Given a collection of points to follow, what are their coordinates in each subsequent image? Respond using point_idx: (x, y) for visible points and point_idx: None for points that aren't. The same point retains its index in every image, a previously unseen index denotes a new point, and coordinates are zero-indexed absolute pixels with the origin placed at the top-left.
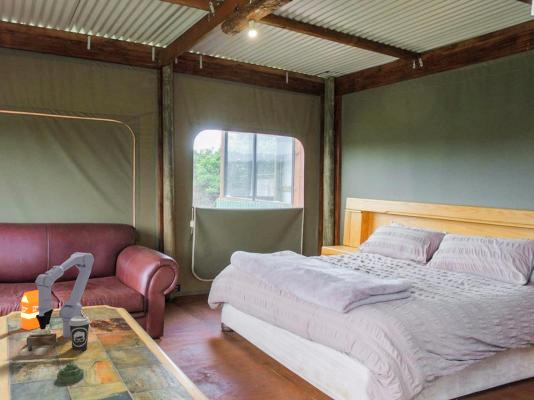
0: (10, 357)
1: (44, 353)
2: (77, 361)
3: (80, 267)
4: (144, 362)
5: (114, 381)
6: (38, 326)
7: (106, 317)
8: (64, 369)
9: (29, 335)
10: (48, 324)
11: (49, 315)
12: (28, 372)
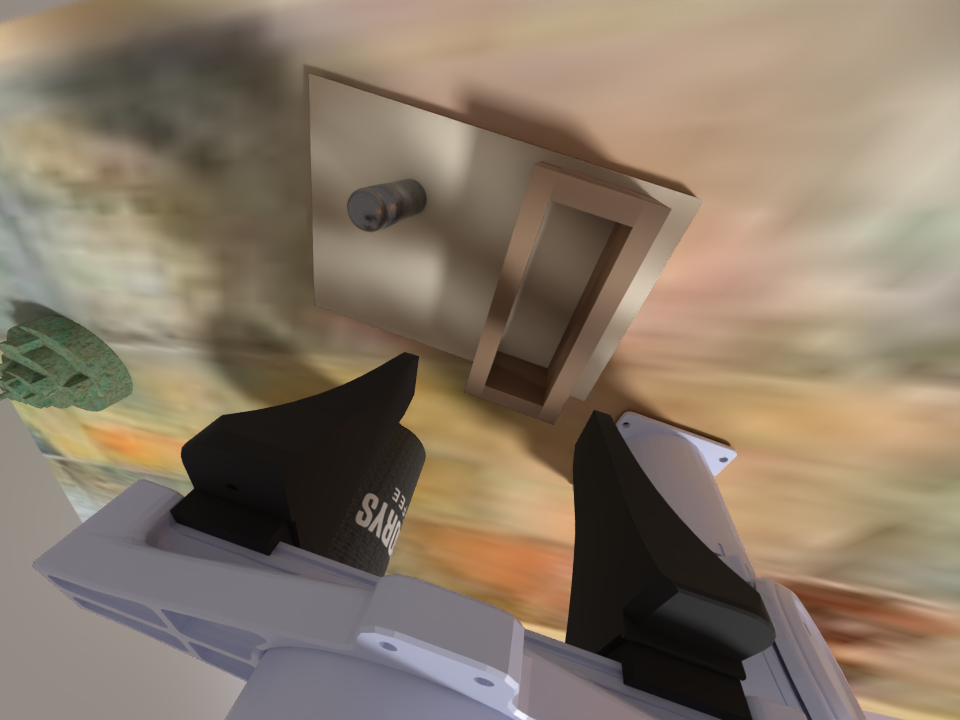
0: (341, 5)
1: (328, 294)
2: (246, 409)
3: None
4: None
5: (103, 451)
6: None
7: (930, 671)
8: (5, 362)
9: (633, 197)
10: (577, 442)
11: (579, 559)
12: (92, 192)
